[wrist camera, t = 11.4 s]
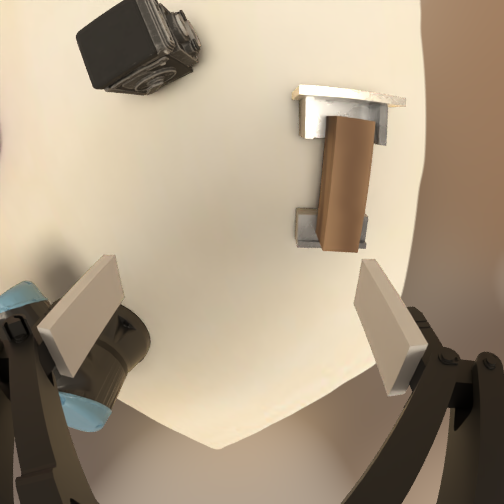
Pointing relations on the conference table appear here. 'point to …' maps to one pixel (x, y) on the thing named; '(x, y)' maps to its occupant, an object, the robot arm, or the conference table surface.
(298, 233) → the rest block
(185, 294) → the conference table surface
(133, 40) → the camera
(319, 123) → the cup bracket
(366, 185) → the rail
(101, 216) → the conference table surface
